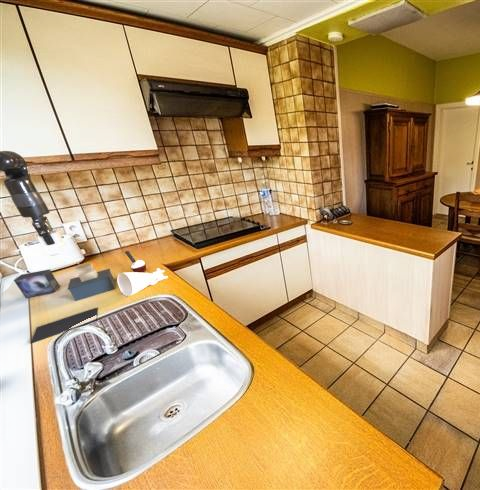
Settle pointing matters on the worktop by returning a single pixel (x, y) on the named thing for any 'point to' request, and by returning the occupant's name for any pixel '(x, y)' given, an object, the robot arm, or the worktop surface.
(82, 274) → the cream box
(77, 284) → the storage box
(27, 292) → the small box
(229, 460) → the worktop surface
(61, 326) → the rubber mat
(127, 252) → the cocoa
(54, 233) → the white box
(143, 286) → the rocket engine
